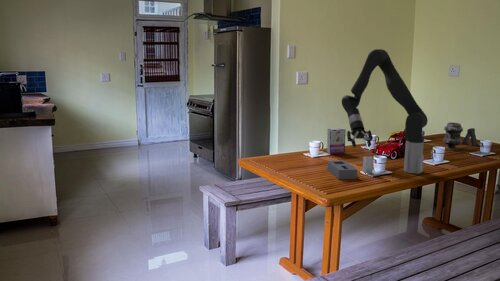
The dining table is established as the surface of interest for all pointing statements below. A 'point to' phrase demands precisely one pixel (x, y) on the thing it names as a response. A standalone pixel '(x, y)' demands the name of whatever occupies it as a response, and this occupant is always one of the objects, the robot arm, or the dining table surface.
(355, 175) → the bore block
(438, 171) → the dining table surface
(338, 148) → the candy bar box
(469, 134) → the dark grey arch
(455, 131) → the dark grey tall lump
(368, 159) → the gray rectangular block
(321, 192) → the dining table surface
